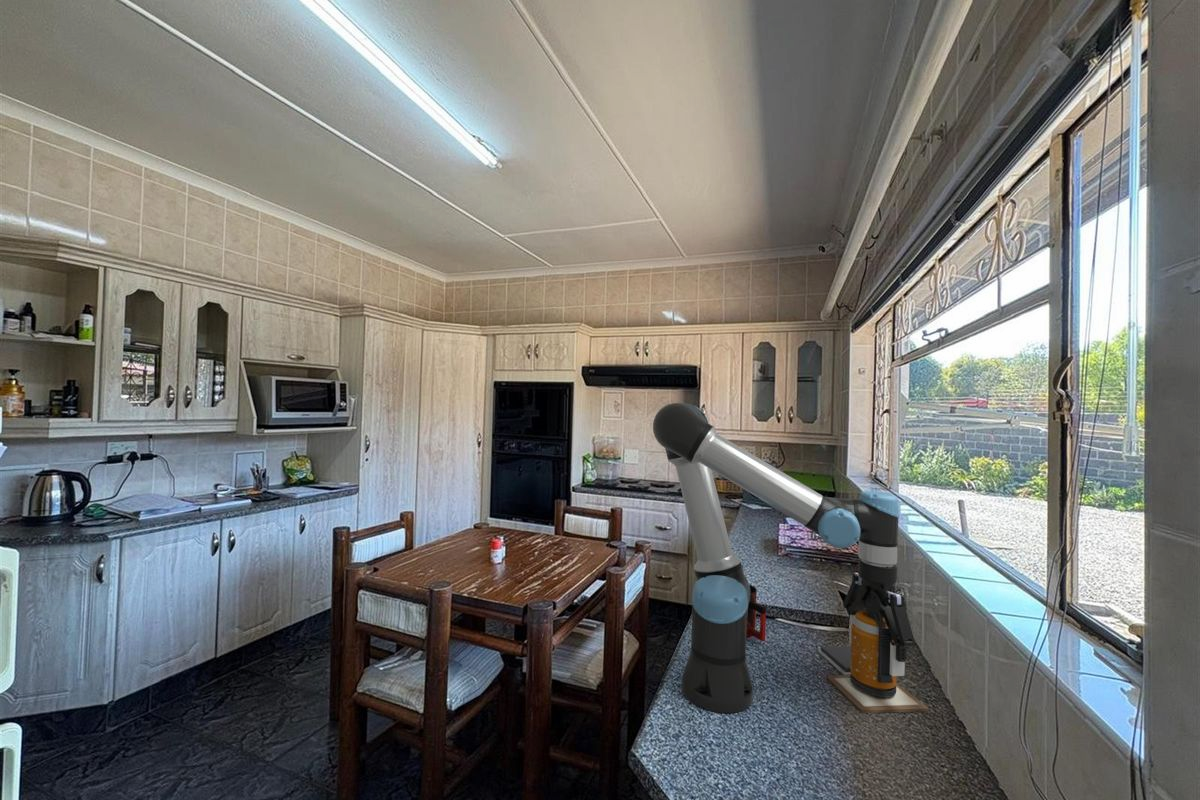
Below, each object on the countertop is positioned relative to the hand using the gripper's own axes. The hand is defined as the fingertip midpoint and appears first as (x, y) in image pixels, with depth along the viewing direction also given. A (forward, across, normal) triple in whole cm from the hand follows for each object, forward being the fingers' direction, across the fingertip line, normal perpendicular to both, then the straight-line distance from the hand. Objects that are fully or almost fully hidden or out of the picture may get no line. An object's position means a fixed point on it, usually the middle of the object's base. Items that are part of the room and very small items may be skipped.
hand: (874, 658), depth 106 cm
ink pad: (+8, +13, -5) cm, 16 cm away
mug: (+8, +30, +17) cm, 36 cm away
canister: (+7, 0, 0) cm, 7 cm away
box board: (+8, 0, 0) cm, 8 cm away
